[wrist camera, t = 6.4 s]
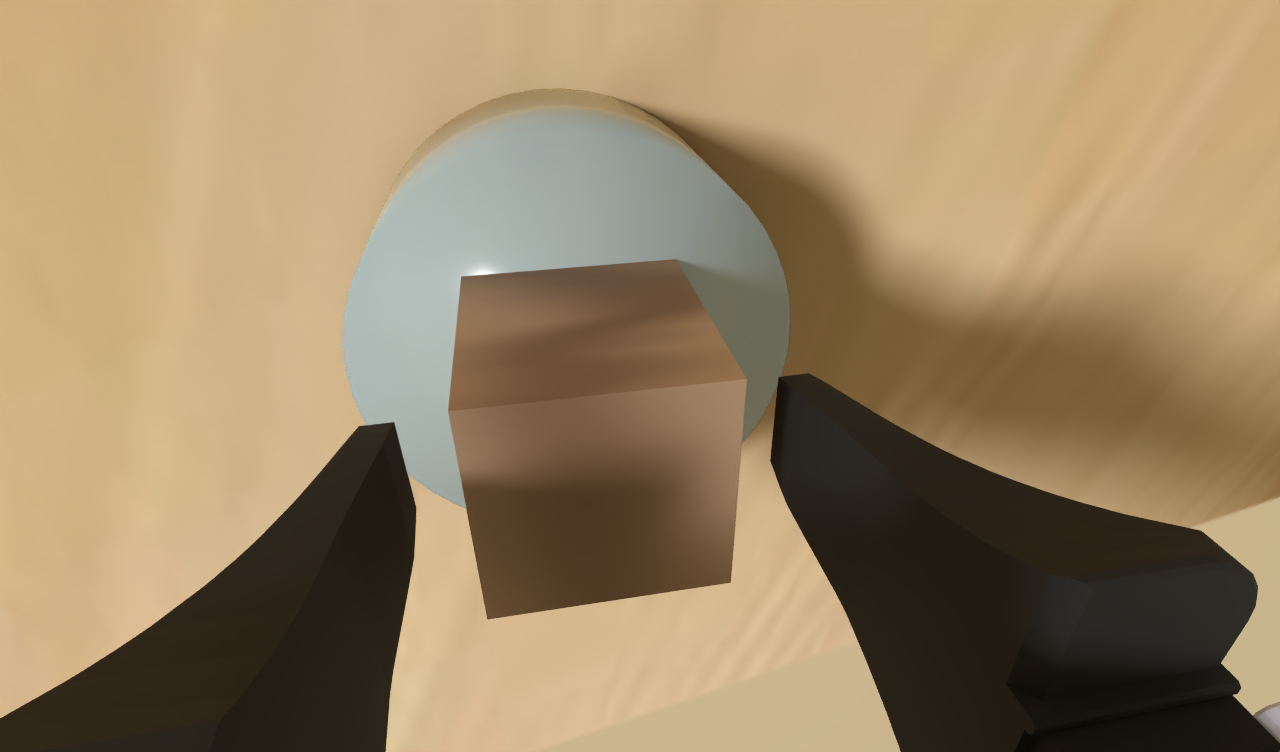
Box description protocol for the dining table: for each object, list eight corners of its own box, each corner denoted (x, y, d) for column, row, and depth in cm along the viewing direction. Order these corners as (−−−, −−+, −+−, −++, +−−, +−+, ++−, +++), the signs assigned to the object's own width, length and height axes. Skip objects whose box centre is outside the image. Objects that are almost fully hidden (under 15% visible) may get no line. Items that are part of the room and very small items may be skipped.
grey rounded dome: (750, 92, 18) (827, 135, 14) (711, 409, 23) (758, 509, 19) (348, 81, 17) (299, 126, 12) (401, 426, 22) (378, 541, 17)
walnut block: (675, 258, 15) (746, 378, 11) (672, 429, 17) (730, 582, 13) (461, 276, 14) (448, 411, 10) (488, 450, 17) (487, 618, 12)
